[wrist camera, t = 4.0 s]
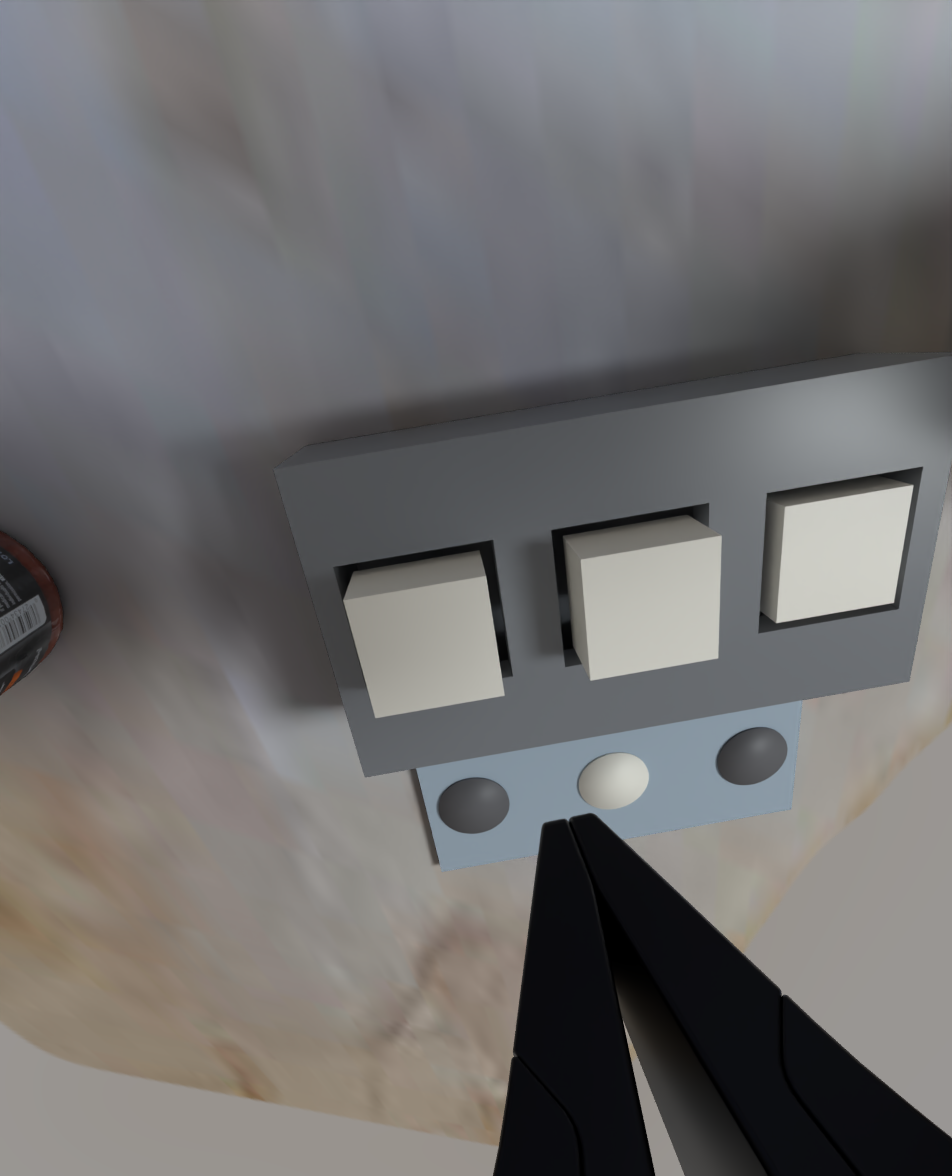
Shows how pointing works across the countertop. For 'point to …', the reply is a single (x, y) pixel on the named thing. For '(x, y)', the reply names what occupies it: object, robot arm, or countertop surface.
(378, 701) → the button
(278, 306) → the countertop surface
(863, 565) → the button
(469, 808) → the pattern card
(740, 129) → the countertop surface
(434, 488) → the button board
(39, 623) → the supplement bottle
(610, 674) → the button middle
